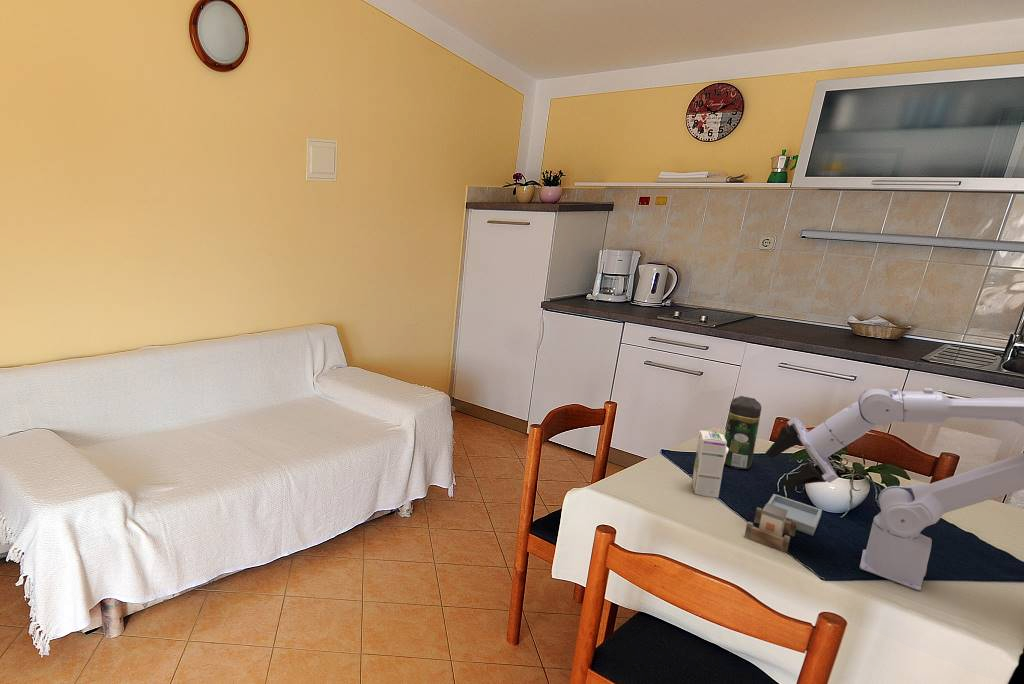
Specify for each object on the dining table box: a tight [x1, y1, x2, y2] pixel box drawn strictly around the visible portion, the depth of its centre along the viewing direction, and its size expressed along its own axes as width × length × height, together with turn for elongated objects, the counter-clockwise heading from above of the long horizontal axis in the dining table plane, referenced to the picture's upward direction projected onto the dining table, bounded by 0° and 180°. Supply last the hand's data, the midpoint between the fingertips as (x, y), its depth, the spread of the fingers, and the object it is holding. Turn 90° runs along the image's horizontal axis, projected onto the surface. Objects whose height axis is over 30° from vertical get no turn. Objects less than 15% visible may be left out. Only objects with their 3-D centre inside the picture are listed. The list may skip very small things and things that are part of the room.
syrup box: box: [691, 430, 727, 499], centre depth 128 cm, size 6×6×14 cm
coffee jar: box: [724, 395, 762, 470], centre depth 145 cm, size 10×8×19 cm
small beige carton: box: [758, 502, 788, 537], centre depth 111 cm, size 4×4×6 cm
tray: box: [767, 493, 823, 537], centre depth 119 cm, size 10×10×2 cm
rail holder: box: [743, 506, 798, 554], centre depth 111 cm, size 8×9×3 cm
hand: (777, 470), depth 110 cm, fingers open, 7 cm apart
